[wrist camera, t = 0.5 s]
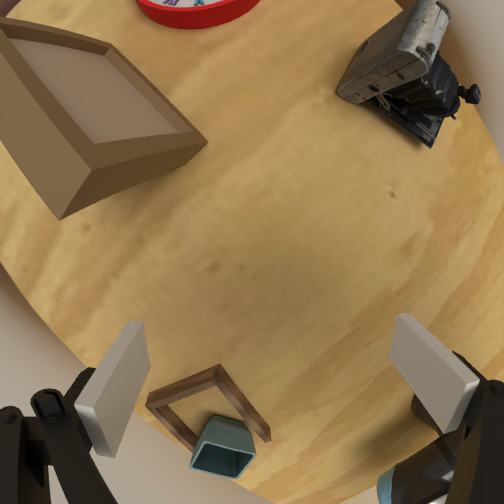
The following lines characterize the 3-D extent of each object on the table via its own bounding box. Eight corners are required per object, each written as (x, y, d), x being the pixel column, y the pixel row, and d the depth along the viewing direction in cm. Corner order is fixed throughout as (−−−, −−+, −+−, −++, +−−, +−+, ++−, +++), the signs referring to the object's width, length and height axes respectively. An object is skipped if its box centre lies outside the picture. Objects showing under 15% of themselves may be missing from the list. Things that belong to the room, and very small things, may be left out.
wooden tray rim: (269, 427, 50) (271, 440, 47) (204, 449, 52) (202, 462, 48) (220, 363, 46) (219, 376, 43) (149, 392, 48) (144, 405, 44)
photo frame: (113, 46, 34) (20, -37, 10) (209, 142, 39) (163, 95, 14) (46, 119, 36) (-77, 98, 12) (131, 219, 41) (17, 275, 16)
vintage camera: (414, 154, 40) (513, 152, 21) (330, 94, 37) (405, 43, 18) (434, 105, 38) (527, 86, 19) (356, 46, 36) (431, -15, 16)
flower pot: (193, 433, 50) (188, 468, 42) (207, 404, 48) (203, 441, 40) (237, 445, 51) (237, 480, 43) (254, 417, 50) (257, 454, 41)
